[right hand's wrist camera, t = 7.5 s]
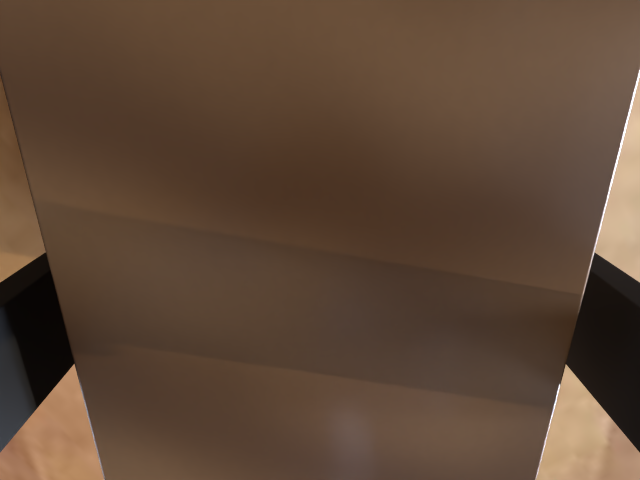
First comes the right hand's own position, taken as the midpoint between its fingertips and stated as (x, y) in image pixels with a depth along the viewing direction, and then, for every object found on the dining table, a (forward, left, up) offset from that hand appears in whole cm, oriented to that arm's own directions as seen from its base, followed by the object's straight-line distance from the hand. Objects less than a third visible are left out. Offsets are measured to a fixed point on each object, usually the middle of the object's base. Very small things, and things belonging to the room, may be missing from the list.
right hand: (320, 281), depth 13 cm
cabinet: (+1, -4, -8) cm, 9 cm away
